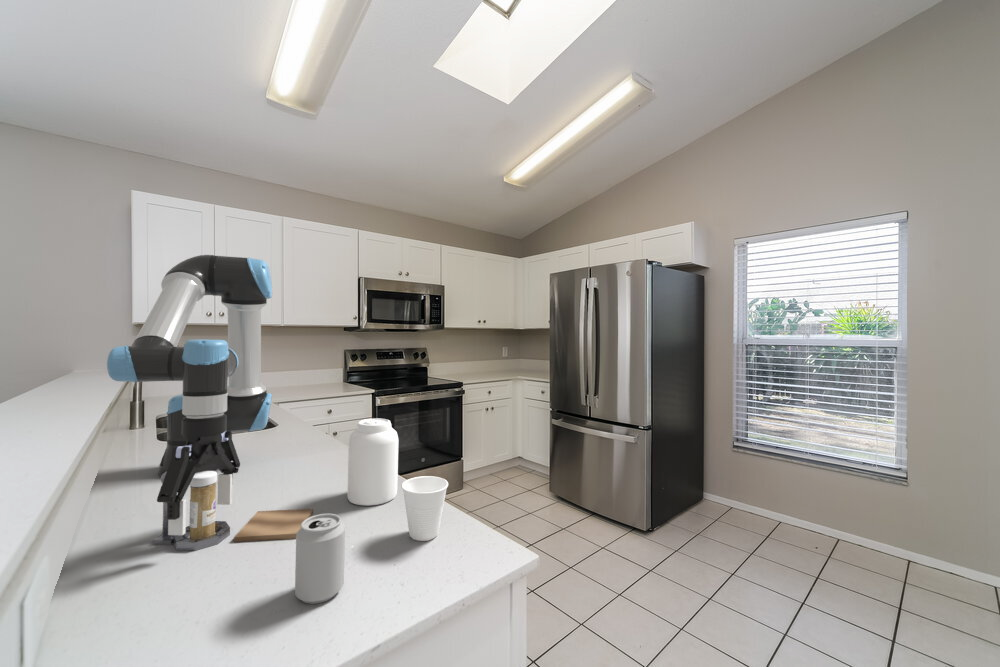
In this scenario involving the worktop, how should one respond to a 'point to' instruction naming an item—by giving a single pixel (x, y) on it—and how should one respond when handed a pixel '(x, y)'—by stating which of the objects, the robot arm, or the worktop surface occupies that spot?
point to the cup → (424, 505)
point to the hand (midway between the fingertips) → (202, 518)
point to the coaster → (273, 525)
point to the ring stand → (181, 540)
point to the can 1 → (319, 558)
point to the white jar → (373, 463)
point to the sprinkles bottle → (203, 504)
